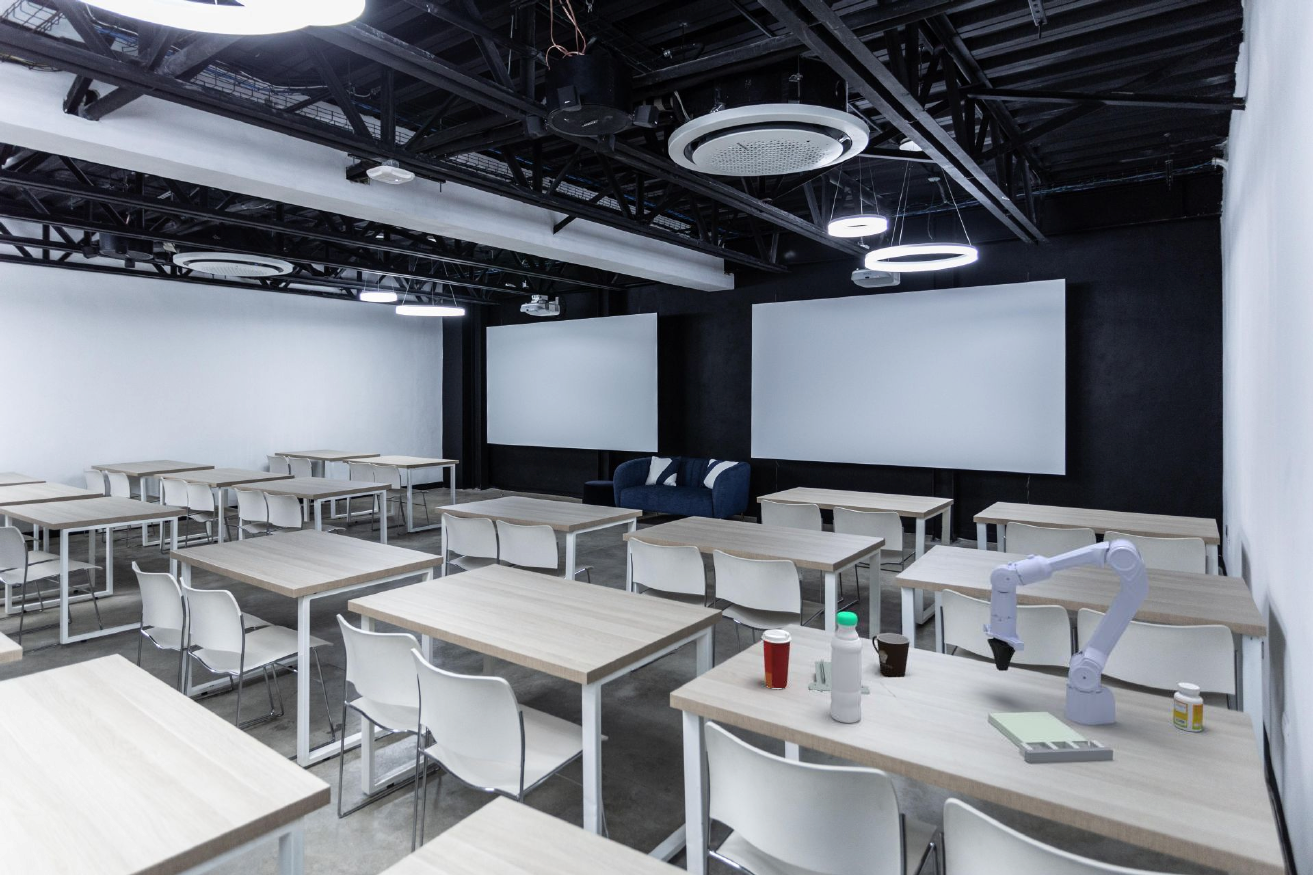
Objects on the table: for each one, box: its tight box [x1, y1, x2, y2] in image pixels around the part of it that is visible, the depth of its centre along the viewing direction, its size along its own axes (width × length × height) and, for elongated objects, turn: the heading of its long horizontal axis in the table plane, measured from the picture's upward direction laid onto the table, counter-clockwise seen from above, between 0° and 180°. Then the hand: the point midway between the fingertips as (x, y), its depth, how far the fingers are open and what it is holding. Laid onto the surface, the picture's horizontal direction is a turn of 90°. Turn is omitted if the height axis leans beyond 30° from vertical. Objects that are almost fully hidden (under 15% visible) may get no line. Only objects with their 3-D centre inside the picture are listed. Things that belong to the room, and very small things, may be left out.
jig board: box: [1018, 739, 1114, 764], centre depth 157 cm, size 18×26×4 cm
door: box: [987, 711, 1095, 750], centre depth 154 cm, size 14×17×2 cm
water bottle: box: [829, 611, 863, 724], centre depth 167 cm, size 7×7×25 cm
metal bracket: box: [808, 658, 870, 696], centre depth 188 cm, size 14×6×15 cm
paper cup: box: [761, 628, 792, 689], centre depth 186 cm, size 8×8×14 cm
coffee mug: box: [871, 632, 911, 679], centre depth 195 cm, size 12×9×10 cm
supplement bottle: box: [1172, 682, 1204, 733], centre depth 162 cm, size 5×5×10 cm
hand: (1002, 669), depth 172 cm, fingers closed
